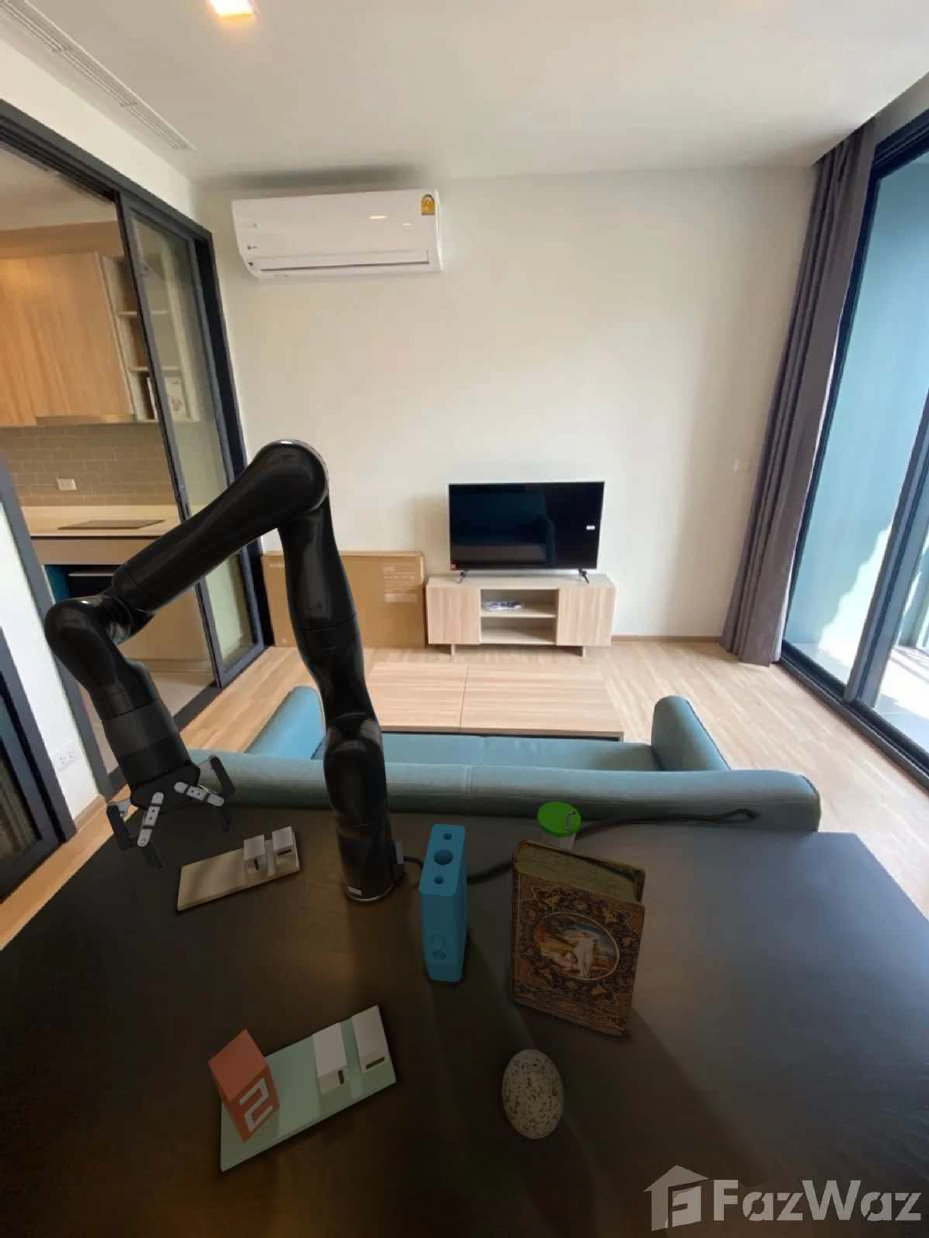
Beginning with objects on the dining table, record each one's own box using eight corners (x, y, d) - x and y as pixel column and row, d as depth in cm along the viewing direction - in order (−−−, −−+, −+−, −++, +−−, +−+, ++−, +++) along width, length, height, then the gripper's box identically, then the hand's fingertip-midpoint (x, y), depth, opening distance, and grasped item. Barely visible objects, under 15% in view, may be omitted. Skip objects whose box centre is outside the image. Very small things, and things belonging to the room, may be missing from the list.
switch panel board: (378, 1009, 70) (375, 989, 68) (396, 1081, 63) (393, 1060, 61) (223, 1080, 63) (216, 1059, 61) (222, 1172, 55) (213, 1151, 54)
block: (459, 995, 72) (455, 896, 64) (425, 991, 72) (417, 893, 65) (468, 918, 83) (466, 825, 75) (438, 915, 83) (433, 823, 76)
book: (505, 998, 71) (507, 869, 62) (514, 961, 76) (517, 836, 67) (625, 1040, 66) (647, 907, 57) (626, 997, 71) (647, 868, 62)
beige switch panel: (294, 835, 100) (291, 818, 98) (299, 870, 92) (296, 852, 91) (183, 870, 93) (177, 852, 91) (178, 911, 85) (172, 892, 83)
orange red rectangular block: (257, 1069, 63) (245, 1028, 60) (281, 1107, 60) (269, 1065, 56) (222, 1103, 60) (207, 1061, 57) (245, 1145, 57) (230, 1103, 53)
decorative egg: (571, 1143, 57) (577, 1094, 53) (511, 1162, 56) (513, 1113, 52) (548, 1069, 63) (552, 1020, 60) (494, 1084, 62) (494, 1035, 58)
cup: (535, 840, 97) (538, 779, 92) (576, 844, 96) (581, 782, 91) (534, 874, 90) (537, 810, 85) (578, 879, 89) (584, 814, 84)
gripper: (79, 772, 59) (136, 890, 61) (206, 718, 66) (252, 824, 69) (84, 762, 65) (136, 869, 67) (199, 713, 73) (242, 811, 75)
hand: (194, 846), depth 68 cm, fingers open, 8 cm apart
